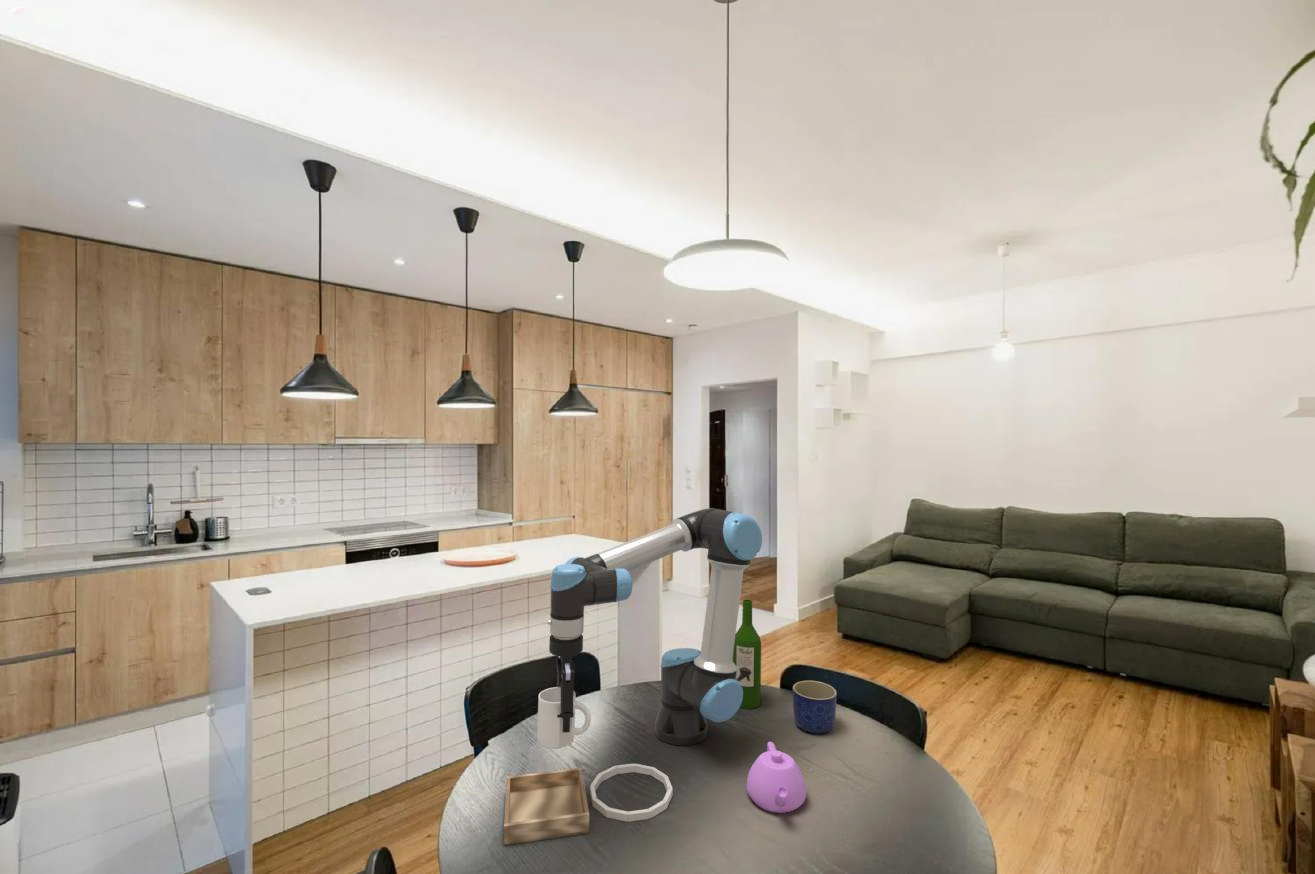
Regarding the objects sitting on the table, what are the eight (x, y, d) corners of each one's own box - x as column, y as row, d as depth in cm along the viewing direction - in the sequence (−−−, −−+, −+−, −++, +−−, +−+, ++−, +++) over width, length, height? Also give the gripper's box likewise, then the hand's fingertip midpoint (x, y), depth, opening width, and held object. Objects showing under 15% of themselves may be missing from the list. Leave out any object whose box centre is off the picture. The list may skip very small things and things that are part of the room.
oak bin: (581, 783, 141) (581, 767, 141) (589, 833, 124) (589, 814, 124) (506, 793, 138) (506, 776, 137) (504, 845, 120) (504, 826, 120)
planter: (801, 712, 179) (802, 676, 179) (841, 724, 172) (842, 687, 172) (785, 728, 169) (786, 691, 169) (827, 742, 162) (827, 703, 161)
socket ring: (661, 766, 149) (661, 760, 149) (680, 814, 131) (680, 807, 131) (586, 775, 145) (586, 769, 145) (596, 826, 126) (596, 819, 126)
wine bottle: (731, 707, 181) (732, 603, 181) (732, 695, 190) (733, 595, 189) (760, 710, 180) (761, 605, 179) (760, 697, 188) (761, 597, 188)
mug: (594, 734, 135) (595, 689, 135) (585, 752, 126) (587, 705, 126) (543, 729, 136) (544, 685, 136) (532, 748, 128) (533, 701, 128)
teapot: (751, 827, 127) (752, 779, 127) (742, 773, 147) (743, 731, 147) (815, 830, 126) (816, 781, 126) (797, 775, 146) (798, 733, 146)
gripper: (547, 620, 141) (544, 713, 141) (552, 652, 121) (549, 761, 121) (578, 619, 143) (575, 711, 143) (588, 650, 122) (585, 757, 122)
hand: (563, 734), depth 132 cm, fingers closed on mug, 8 cm apart
